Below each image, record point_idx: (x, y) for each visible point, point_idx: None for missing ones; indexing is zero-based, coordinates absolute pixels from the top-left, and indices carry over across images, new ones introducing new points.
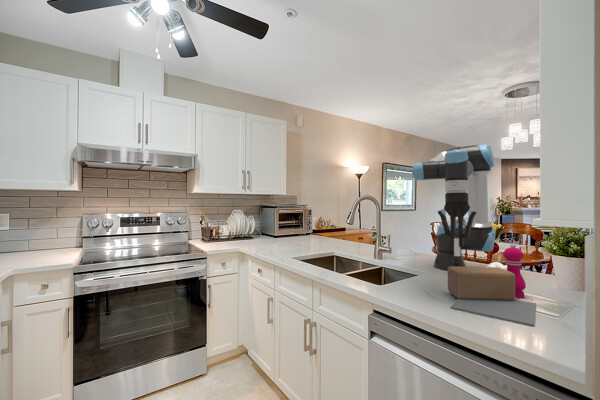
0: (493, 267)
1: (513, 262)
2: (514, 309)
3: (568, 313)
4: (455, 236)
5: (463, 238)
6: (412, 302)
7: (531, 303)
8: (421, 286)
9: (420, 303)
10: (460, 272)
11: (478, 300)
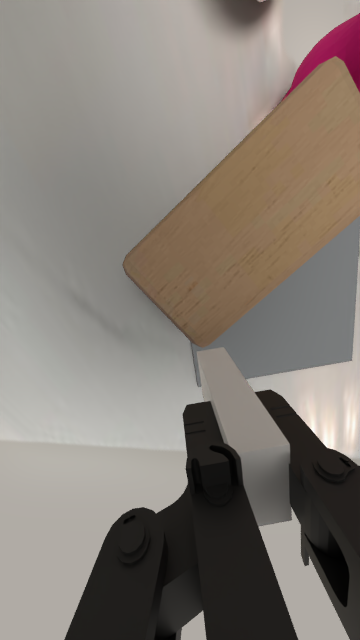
0: (311, 98)
1: None
2: (316, 292)
3: None
4: (243, 495)
5: (333, 455)
6: (116, 413)
7: None
8: (43, 263)
9: (133, 405)
10: (211, 340)
11: None
